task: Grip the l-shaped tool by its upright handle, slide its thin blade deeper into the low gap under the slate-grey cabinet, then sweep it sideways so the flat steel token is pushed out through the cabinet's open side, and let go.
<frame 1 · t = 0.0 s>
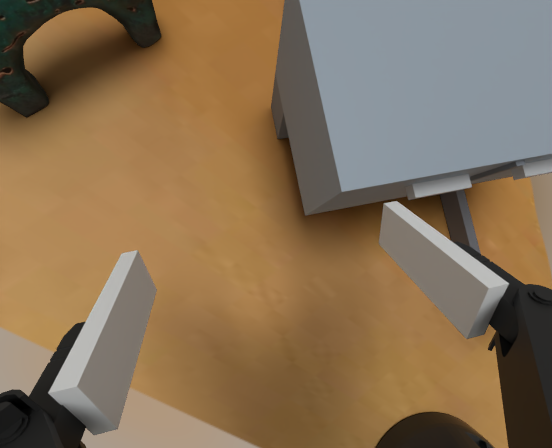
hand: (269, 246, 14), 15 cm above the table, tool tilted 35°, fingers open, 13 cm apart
l-shaped tool: (470, 300, 31), on the table
cabinet: (375, 148, 32), on the table
ceramic cat: (85, 66, 30), on the table
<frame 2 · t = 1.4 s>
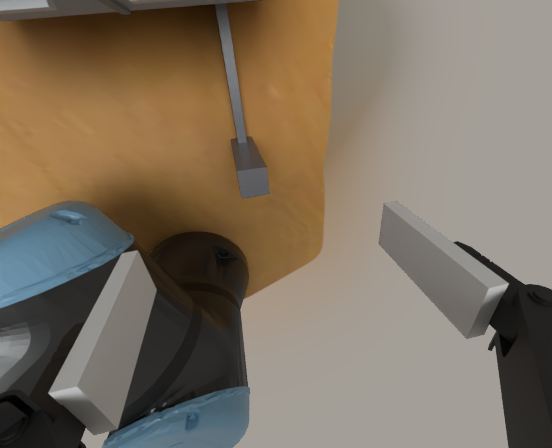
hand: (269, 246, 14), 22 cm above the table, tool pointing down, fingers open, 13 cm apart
l-shaped tool: (242, 148, 33), on the table
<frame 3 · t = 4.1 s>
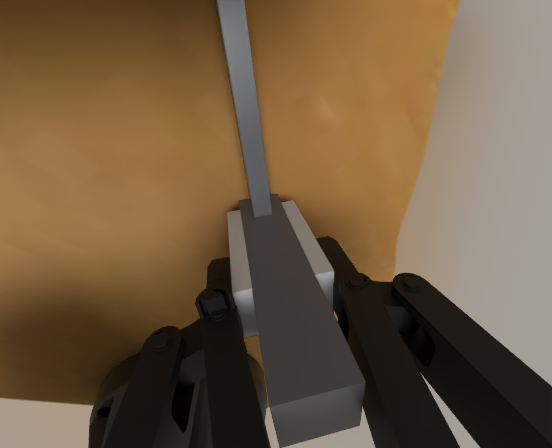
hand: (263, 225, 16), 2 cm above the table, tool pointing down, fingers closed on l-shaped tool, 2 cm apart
l-shaped tool: (260, 214, 17), on the table, touching gripper
when the fingers open (2 cm above the table, at t = 10.7 s): l-shaped tool stays where it is, on the table.
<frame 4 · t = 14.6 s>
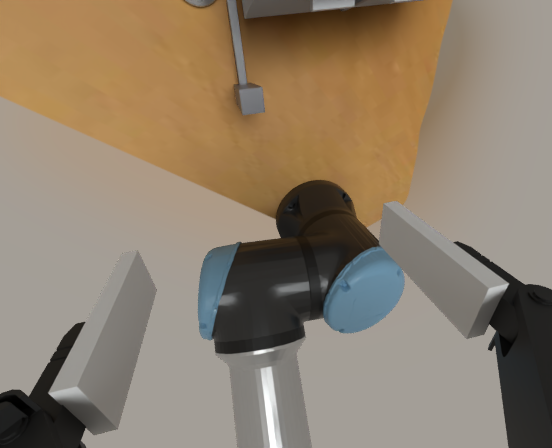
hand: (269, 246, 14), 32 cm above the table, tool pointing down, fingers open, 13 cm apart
l-shaped tool: (243, 93, 39), on the table
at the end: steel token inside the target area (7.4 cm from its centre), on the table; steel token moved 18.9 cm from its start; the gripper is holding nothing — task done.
